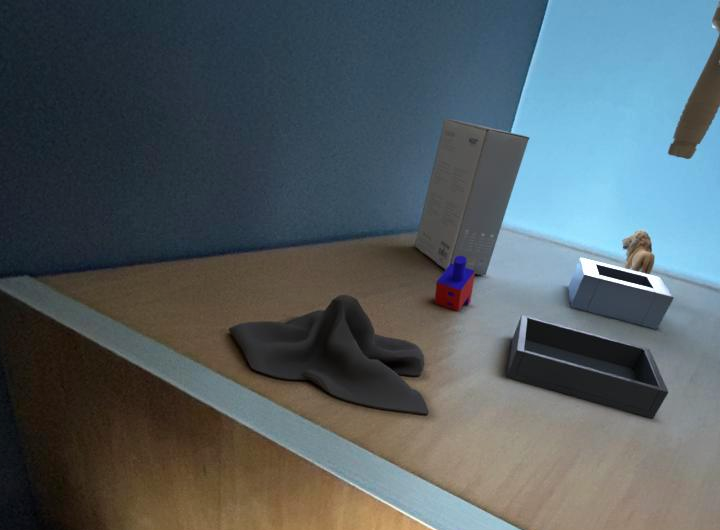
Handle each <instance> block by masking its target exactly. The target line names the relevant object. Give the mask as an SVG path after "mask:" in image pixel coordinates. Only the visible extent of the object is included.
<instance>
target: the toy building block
mask: <svg viewBox="0 0 720 530" xmlns="http://www.w3.org/2000/svg"><path fill="white" fill-rule="evenodd" d="M465 267H466V258H465V257H464V256H457V257H456V258H455V259H454V264H452V263H451V264H450V265H449V266H448V268H447V269H446V270H445V269H444V271H443V273H442V274H441V275H440V277H439V278H438V280H437V281H436V283H435V294H434V296H435V297H434V304H435V305H439V306H441V307H445V308H448V309H450V310H454V311H457V312H459V311H460V310H461V308H462V307H463V305H464V306H466V307H468V306H469V305H470V303H471V302H472V295H473V294H472V293H473V288H474V281H475V275H476V274H475V271H474V270H470V269H467V268H465Z"/></svg>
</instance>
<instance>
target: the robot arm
mask: <svg viewBox="0 0 720 530" xmlns="http://www.w3.org/2000/svg"><path fill="white" fill-rule="evenodd" d="M719 7H720V0H718V2H717V6H716V9H715V11H714V13H715V12H716V10H717V8H719ZM711 27H712V28H713V29H715V30H717V29H716V28H715V27H714V25H713V23H712V22H711ZM718 64H719V66H720V60H719V63H718Z"/></svg>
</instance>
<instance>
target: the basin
mask: <svg viewBox="0 0 720 530" xmlns="http://www.w3.org/2000/svg"><path fill="white" fill-rule="evenodd" d="M509 352H510V354H509V360H508V366H507V371H506V378H508V379H511V380H515V381H518V382H522V383H525V384H530V385H533V386H535V387H540V388H543V389H547V390H550V391H553V392H557V393H560V394H565V395H568V396H571V397H575V398H579V399H582V400H586V401H588V402H593V403H597V404H599V405H603V406H607V407H610V408H614V409H617V410H621V411H625V412H628V413H632V414H635V415H639V416H642V417H645V418H650V419H654V418H655V417H656V414H657V413H658V411H659V410H660V408H661V407H662V404H663V403H664V401H665V399H666V398H667V396H668V394H669V390H668V388H667V385H666V383H665V381H664V379H663V377H662V374H661V372H660V370H659V368H658V365H657V363H656V360H655V358H654V356H653V354H652V351H651V349H650V348H647V347H643V346H639V345H636V344H632V343H629V342H625V341H621V340H617V339H614V338H609V337H606V336H603V335H598V334H594V333H591V332H587V331H583V330H579V329H575V328H572V327H569V326H565V325H561V324H557V323H554V322H550V321H546V320H542V319H538V318H536V317H532V316H527V315H524V314H521V315H520V318H519V320H518V323H517V326H516V329H515V331H514V334H513V337H512V340H511V346H510V351H509Z"/></svg>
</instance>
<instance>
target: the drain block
mask: <svg viewBox="0 0 720 530" xmlns="http://www.w3.org/2000/svg"><path fill="white" fill-rule="evenodd" d="M567 287H568V295H569V296H568V297H569V304H570V308H573V309H577V310H580V311H584V312H588V313H592V314H596V315H599V316H602V317H607V318H611V319H615V320H619V321H623V322H626V323H629V324H632V325H633V324H634V325H638V326H641V327H645V328H649V329H652V330H653V329H654V330H658V329H659V327H660V325H661V323H662V321H663V319H664V318H665V316H666V314H667V311H668V310H669V308H670V307H671V304H672V302H673V300H674V298H675V296H674V295H673V293H672V292H671V291H670V289H669V288H668V287H667V285H666V284H665V283H664V281H663V280H662V278H661V277H660V276H656V275H652V274H645V273H641V272H637V271H633V270H632V269H630V270H629V269H625V268H624V267H622V266H621V267H620V266H616V265H613V264H609V263H605V262H601V261H596V260H592V259H588V258H585V257H579V259H578V263H577V264H576V267H575V269H574V271H573V274H572V277H571V280H570V282H569V284H568V286H567Z"/></svg>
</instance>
